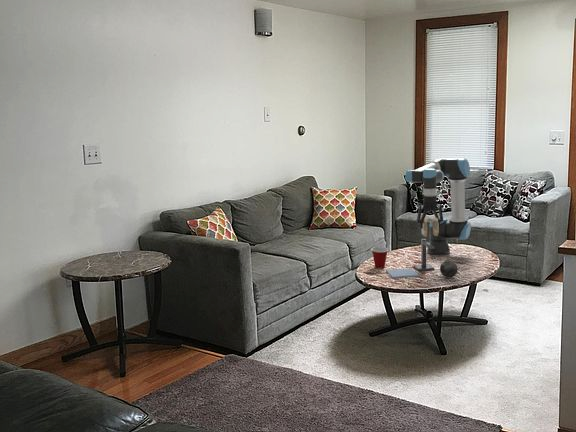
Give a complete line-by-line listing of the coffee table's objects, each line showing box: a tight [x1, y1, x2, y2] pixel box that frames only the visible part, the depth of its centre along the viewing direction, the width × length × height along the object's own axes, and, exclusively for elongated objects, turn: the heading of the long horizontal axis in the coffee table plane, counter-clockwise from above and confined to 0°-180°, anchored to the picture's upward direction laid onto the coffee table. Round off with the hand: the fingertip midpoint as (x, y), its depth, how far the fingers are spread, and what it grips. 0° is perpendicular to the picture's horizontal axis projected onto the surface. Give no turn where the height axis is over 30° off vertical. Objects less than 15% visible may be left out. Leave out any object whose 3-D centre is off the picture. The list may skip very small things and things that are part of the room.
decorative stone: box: [439, 260, 458, 278], centre depth 365 cm, size 10×10×10 cm
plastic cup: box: [371, 246, 389, 269], centre depth 394 cm, size 11×11×12 cm
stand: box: [413, 238, 435, 272], centre depth 380 cm, size 10×22×18 cm, turn 5°
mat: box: [385, 267, 420, 279], centre depth 377 cm, size 16×16×1 cm
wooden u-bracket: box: [421, 216, 438, 238], centre depth 370 cm, size 8×5×10 cm, turn 95°
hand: (430, 233), depth 371 cm, fingers closed on wooden u-bracket, 8 cm apart
